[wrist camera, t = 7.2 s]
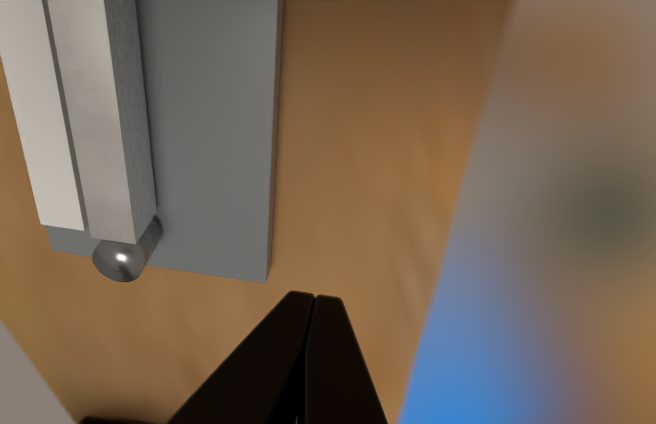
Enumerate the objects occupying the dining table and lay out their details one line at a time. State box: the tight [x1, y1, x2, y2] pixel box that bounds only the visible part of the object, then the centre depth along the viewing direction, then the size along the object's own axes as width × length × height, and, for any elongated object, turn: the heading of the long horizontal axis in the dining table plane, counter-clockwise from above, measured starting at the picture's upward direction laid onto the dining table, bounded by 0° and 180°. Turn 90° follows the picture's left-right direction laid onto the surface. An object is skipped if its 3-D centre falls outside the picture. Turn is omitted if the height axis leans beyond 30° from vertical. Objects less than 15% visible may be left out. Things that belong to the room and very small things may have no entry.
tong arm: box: [47, 0, 161, 282], centre depth 18 cm, size 14×2×2 cm, turn 175°
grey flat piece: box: [0, 0, 284, 283], centre depth 19 cm, size 16×9×3 cm, turn 175°
